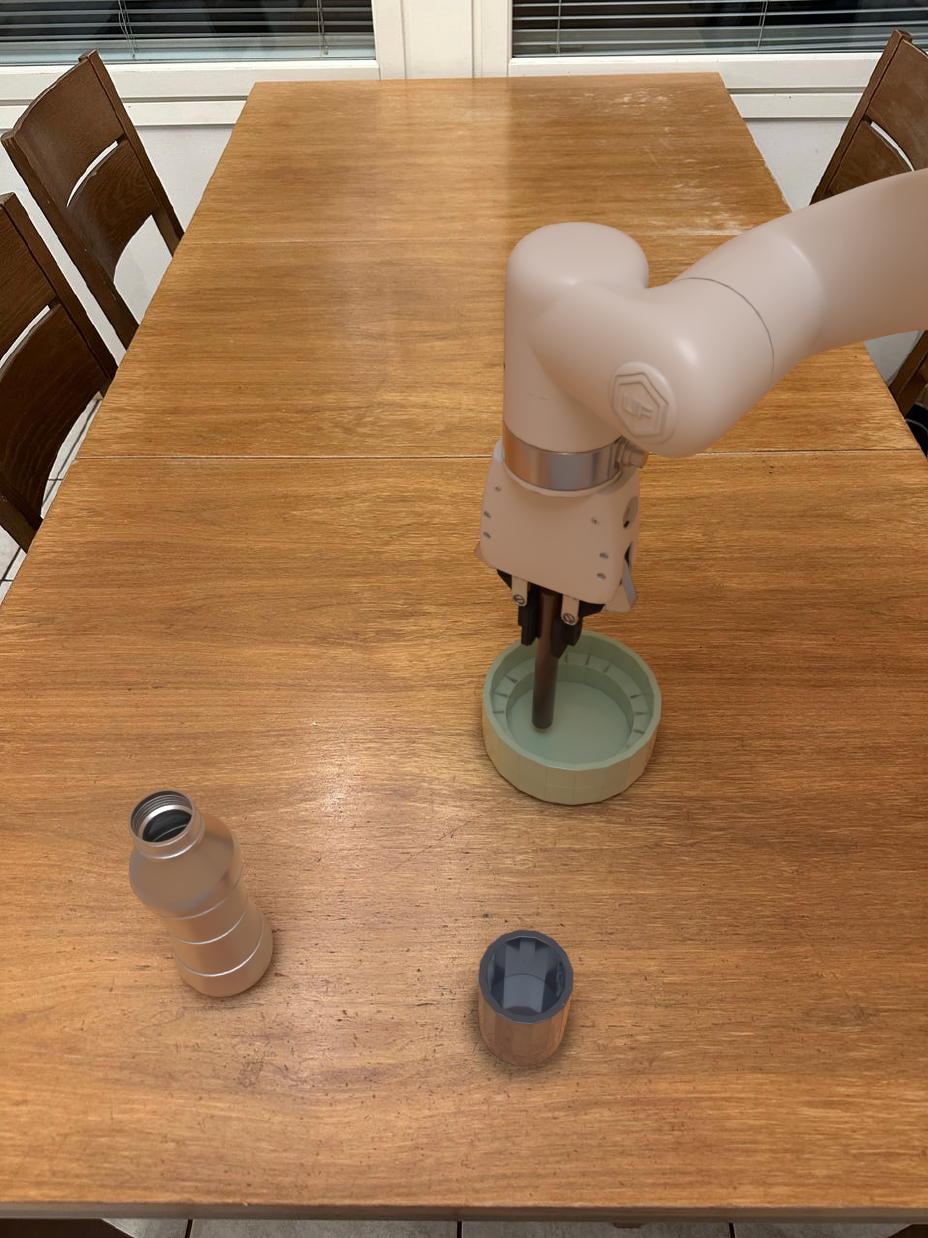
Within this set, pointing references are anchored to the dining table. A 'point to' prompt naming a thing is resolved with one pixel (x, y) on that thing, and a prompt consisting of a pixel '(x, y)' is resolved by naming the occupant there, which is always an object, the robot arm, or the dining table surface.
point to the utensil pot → (524, 996)
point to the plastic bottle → (198, 893)
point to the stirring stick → (545, 660)
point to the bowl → (573, 721)
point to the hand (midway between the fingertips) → (548, 637)
